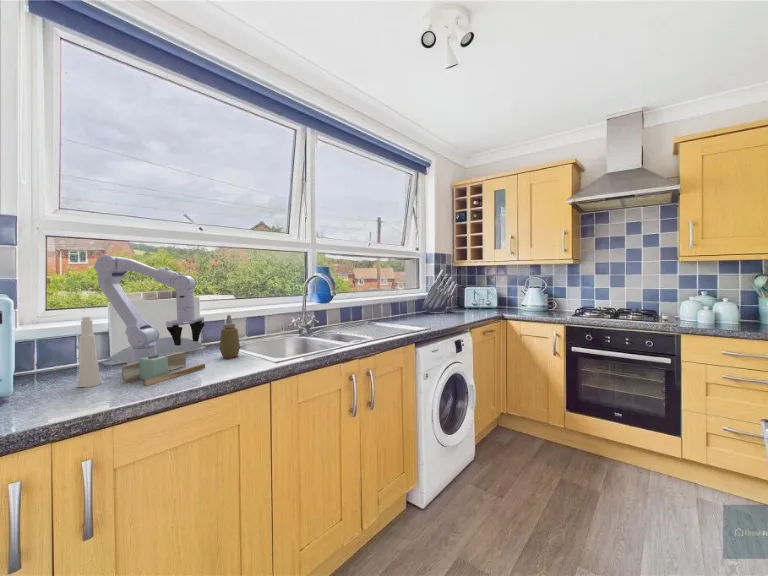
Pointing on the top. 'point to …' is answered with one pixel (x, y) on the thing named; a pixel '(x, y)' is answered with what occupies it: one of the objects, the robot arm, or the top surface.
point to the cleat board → (174, 362)
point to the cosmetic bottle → (88, 356)
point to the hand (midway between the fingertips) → (186, 343)
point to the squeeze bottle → (229, 339)
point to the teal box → (153, 366)
